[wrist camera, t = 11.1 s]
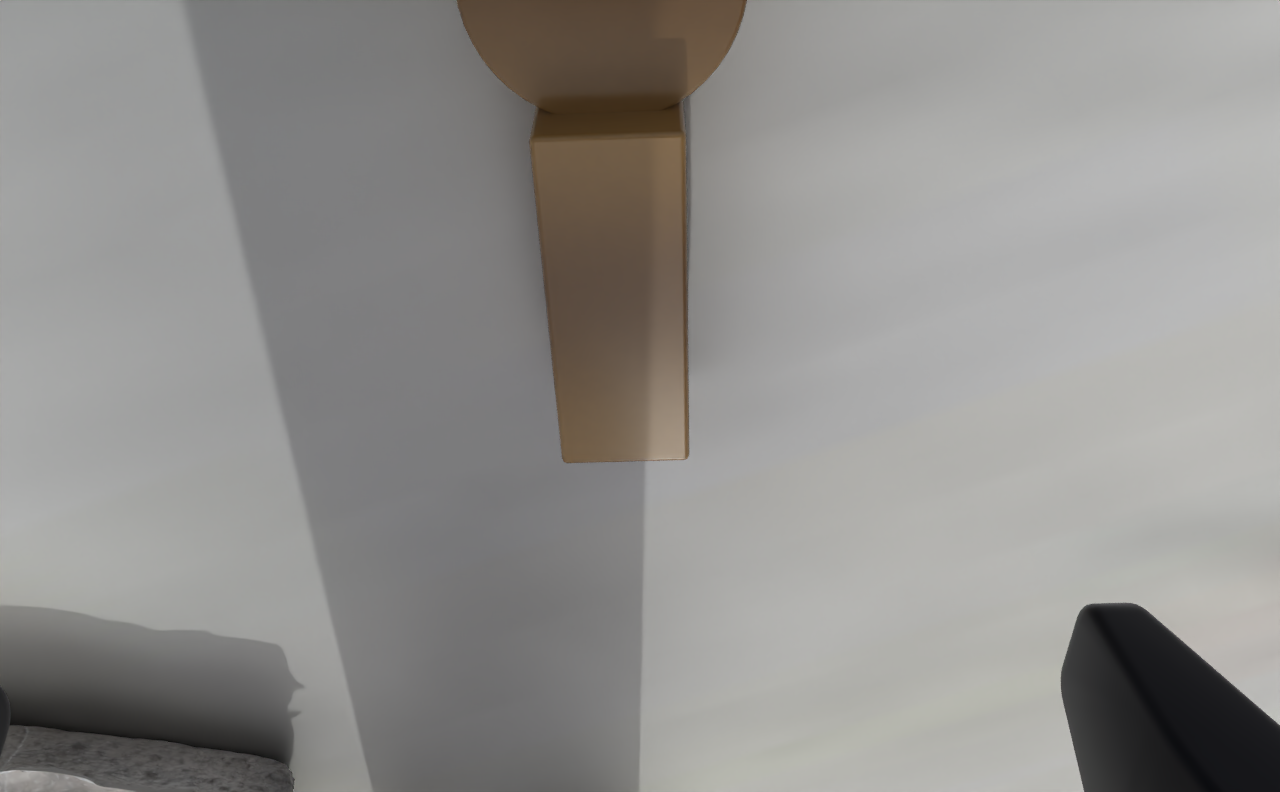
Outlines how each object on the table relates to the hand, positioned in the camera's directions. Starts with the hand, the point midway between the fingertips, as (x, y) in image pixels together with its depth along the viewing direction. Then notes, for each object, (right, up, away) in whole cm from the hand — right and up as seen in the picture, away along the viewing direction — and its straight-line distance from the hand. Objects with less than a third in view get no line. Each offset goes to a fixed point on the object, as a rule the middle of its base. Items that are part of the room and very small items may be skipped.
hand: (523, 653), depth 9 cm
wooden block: (0, +6, +9) cm, 11 cm away
